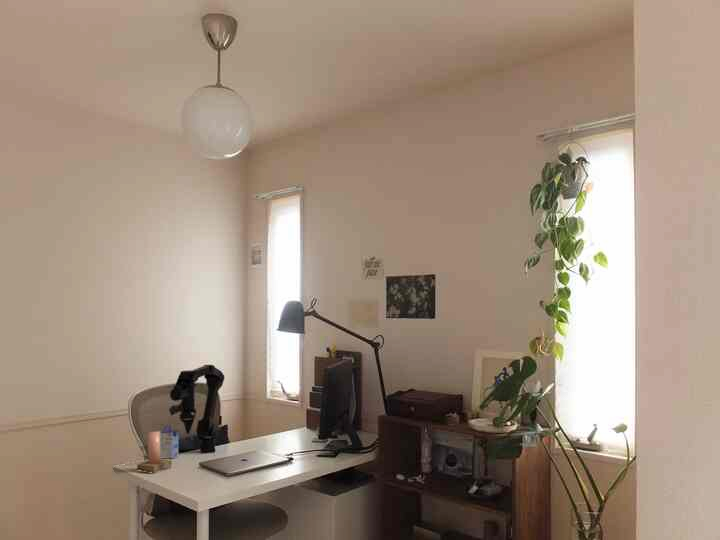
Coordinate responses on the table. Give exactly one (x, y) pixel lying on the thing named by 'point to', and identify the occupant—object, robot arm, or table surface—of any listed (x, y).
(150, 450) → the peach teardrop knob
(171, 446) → the ink cartridge box
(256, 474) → the table surface
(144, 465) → the walnut plinth
